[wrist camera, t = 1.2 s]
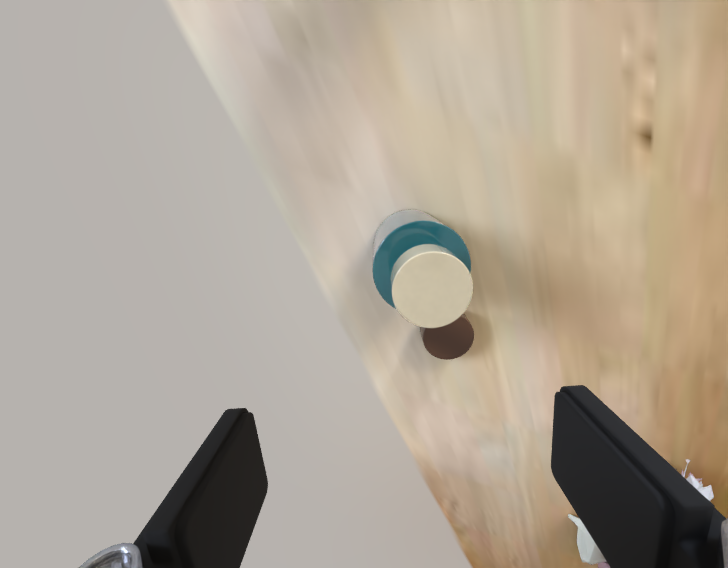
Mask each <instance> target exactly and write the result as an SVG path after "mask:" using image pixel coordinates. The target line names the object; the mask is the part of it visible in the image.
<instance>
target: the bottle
mask: <svg viewBox="0 0 728 568" xmlns="http://www.w3.org/2000/svg"><path fill="white" fill-rule="evenodd" d="M470 272H471V260H470V255H469V251H468V249H467V246H466V244H465V243H464V241H463V240H462V238H461V237H460V236H459V235H458V234H457V233H456V232H455V231H454V230H452V229H451V228H449V227H448V226H446V225H445V224H443V223H441V222H440V221H438V220H437V219H435V218H434V217H432V216H430V215H429V214H427V213H425V212H423V211H419V210H413V209H408V210H402V211H398V212H396V213H394V214H392V215H390V216H389V217H387V218H386V219H385V220H384V221H383V222H382V224H381V225H380V226H379V228H378V230H377V232H376V235H375V239H374V252H373V278H374V282H375V285H376V288H377V290H378V292H379V294H380V295H381V296H382V298H383V299H384V300H385V301H386V302H387V303H388V304H389V305H391V306H392V307H394V308H395V309H397V311H398V312H399V314H400V315H401V316H402V317H403V318H404V319H405V320H407V321H408V322H410V323H412V324H414V325H416V326H419V327H424V328H438V327H442V326H445V325H448V324H450V323H452V322H454V321H455V320H457V319H458V318H459V317H460V316H461V315H462V314H463V313H464V312H465V311H466V309H467V308H468V306H469V304H470V302H471V299H472V295H473V281H472V277H471V274H470Z"/></svg>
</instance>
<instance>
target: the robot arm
mask: <svg viewBox="0 0 728 568" xmlns="http://www.w3.org/2000/svg"><path fill="white" fill-rule="evenodd" d="M551 469H552V473H553V475H554V478H555V480H556V481H557V483H558V484H559V486H560V488H561V489H562V491H563V492H564V494H565V496H566V497H567V499H568V500H569V502H570V504H571V505H572V507H573V508H574V510H575V512H576V513H577V515H578V516H579V518H580V520H581V521H582V523H583V524H584V526H585V528H586V529H587V531H588V532H589V534H590V536H591V537H592V539H593V540H594V542H595V544H596V545H597V547H598V548H599V550H600V552H601V553H602V555H603V556H604V558H605V560H606V561H607V563H608V564H609V566H610V567H611V568H728V518H727V519H726V518H725V517H724V516H723V515H722V514H721V513H720V512H719V511H717V510H716V509H715V508H714V505H713V504H712V503H711V502H710V501H709V500H708V499H707V498H706V497H705V496H704V495H702V494H701V493H700V492H699V491H698V490H697V489H696V488H695V487H694V486H693V485H692V484H691V483H689V482H688V481H687V480H686V479H685V478H684V477H683V476H682V475H681V474H680V473H679V472H678V471H676V470H675V469H674V468H673V467H672V466H671V465H670V464H669V463H668V462H667V461H666V460H665V459H663V458H662V457H661V456H660V455H659V454H658V453H657V452H656V451H655V450H654V449H653V448H652V447H651V446H649V445H648V444H647V443H646V442H645V441H644V440H643V439H642V438H641V437H640V436H639V435H638V434H636V433H635V432H634V431H633V430H632V429H631V428H630V427H629V426H628V425H627V424H626V423H625V422H623V421H622V420H621V419H620V418H619V417H618V416H617V415H616V414H615V413H614V412H613V411H612V410H610V409H609V408H608V407H607V406H606V405H605V404H604V403H603V402H602V401H601V400H600V399H599V398H597V397H596V396H595V395H594V394H593V393H592V392H591V391H590V390H589V389H588V388H587V387H585V386H583V385H578V386H564V387H561V389H560V392H556V394H555V401H554V419H553V438H552V456H551ZM267 488H268V481H267V476H266V471H265V466H264V462H263V457H262V453H261V448H260V443H259V439H258V434H257V429H256V425H255V420H254V416H253V414H252V413H251V412H250V413H248V411H247V409H246V408H238V409H228V410H226V411H225V412H224V413H223V415H222V416H221V418H220V419H219V421H218V422H217V424H216V425H215V426H214V428H213V429H212V431H211V432H210V434H209V435H208V437H207V438H206V440H205V441H204V442H203V444H202V445H201V447H200V448H199V450H198V451H197V453H196V454H195V455H194V457H193V458H192V460H191V461H190V463H189V464H188V465H187V467H186V468H185V470H184V471H183V473H182V474H181V475H180V477H179V478H178V480H177V481H176V483H175V484H174V486H173V487H172V489H171V490H170V491H169V493H168V494H167V496H166V497H165V499H164V500H163V502H162V503H161V504H160V506H159V507H158V509H157V510H156V512H155V513H154V515H153V516H152V517H151V519H150V520H149V522H148V523H147V525H146V526H145V528H144V529H143V530H142V532H141V533H140V535H139V536H138V538H137V539H136V541H135V542H134V544H132V543H121V544H117V545H113V546H111V547H109V548H107V549H104V550H102V551H100V552H99V553H97V554H96V555H94V556H93V557H91V558H90V559H88V560H87V561H86V562H85V563H83V564H82V565H81V566H80V567H79V568H240V565H241V562H242V559H243V557H244V554H245V551H246V548H247V546H248V543H249V540H250V537H251V535H252V532H253V529H254V526H255V524H256V521H257V518H258V515H259V513H260V510H261V507H262V504H263V502H264V499H265V496H266V493H267Z"/></svg>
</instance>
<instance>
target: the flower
mask: <svg viewBox="0 0 728 568" xmlns="http://www.w3.org/2000/svg"><path fill="white" fill-rule="evenodd" d="M686 461H687V465H688V463H689V462H690V460H687V459H686ZM686 468H687V466H686ZM676 471H677V470H676ZM685 473H686V469H685V472H684V475H683V470H682V476H683V477H685ZM686 480H687V481H688V482H689V483H691V484H692V485H693V486H694V487H695V488H696V489H697V490H698V491H699V492H700V493H701V494H702V495H704V496H705V497H706V498H707V499H708V500H709V501H710V500H711V499H712V498H714V495H713V491H712V487H711V485H709V486H707V487H702V486H703V484H702V481H701V482H700V483H698V482H699V481H700V480H701V479H695V477H694V476H693V475H692V474H691V472H690V474H689V476H688V478H687V479H686ZM568 517H569V518H570V519H571V520H572V521H573V522H574V523H575V524H576V525H577V526H578V534H577V545H578V549H579V553H580V556H581V560H582V562H587V563H589V564H591V565H592V564H597V563H598V568H611V567H610V566H609V564H608V563H607V561H606V560H605V558H604V556H603V555H602V553H601V552H600V550H599V548H598V547H597V545H596V544H595V542H594V540H593V539H592V537H591V536H590V534H589V532H588V531H587V529H586V528H585V526H584V524H583V523H582V521H581V520H580V519H579V518H577V517H575V516H572V515H570V514H568Z"/></svg>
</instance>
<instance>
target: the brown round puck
mask: <svg viewBox="0 0 728 568" xmlns="http://www.w3.org/2000/svg"><path fill="white" fill-rule="evenodd" d="M420 332H421V336H422V339H423V343H424V346H425V348H426V349H427V351H428V352H429V353H430V354H432V355H433V356H435V357H437V358H440V359H455V358H458V357H460V356H462V355H463V354H465V353H466V352H467V351H468V350H469V348H470V347H471V345H472V343H473V339H474V331H473V328H472V326H471V324H470V322H469V321H468V319H467V318H466V316H465V315H464V314H462V315H461V316H460V317H459V318H458V319H457V320H455V321H454V322H452V323H450V324H448V325H445V326H442V327H438V328H424V327H420Z"/></svg>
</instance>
